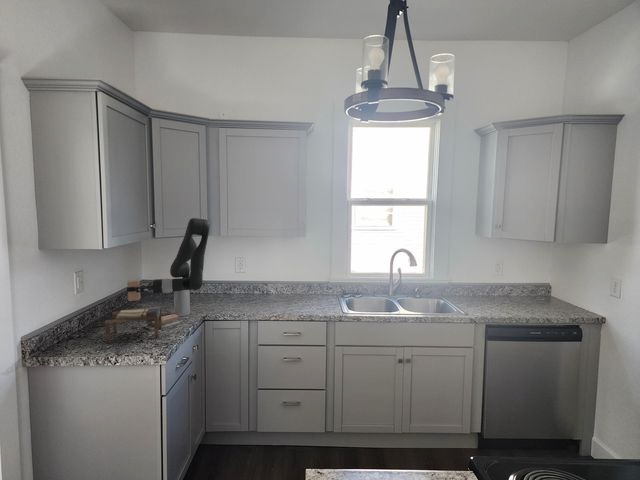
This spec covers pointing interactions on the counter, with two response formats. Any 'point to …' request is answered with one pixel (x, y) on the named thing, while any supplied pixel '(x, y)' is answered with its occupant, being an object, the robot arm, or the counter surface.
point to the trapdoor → (139, 313)
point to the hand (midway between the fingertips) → (128, 288)
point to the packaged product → (165, 321)
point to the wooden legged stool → (107, 326)
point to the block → (133, 295)
